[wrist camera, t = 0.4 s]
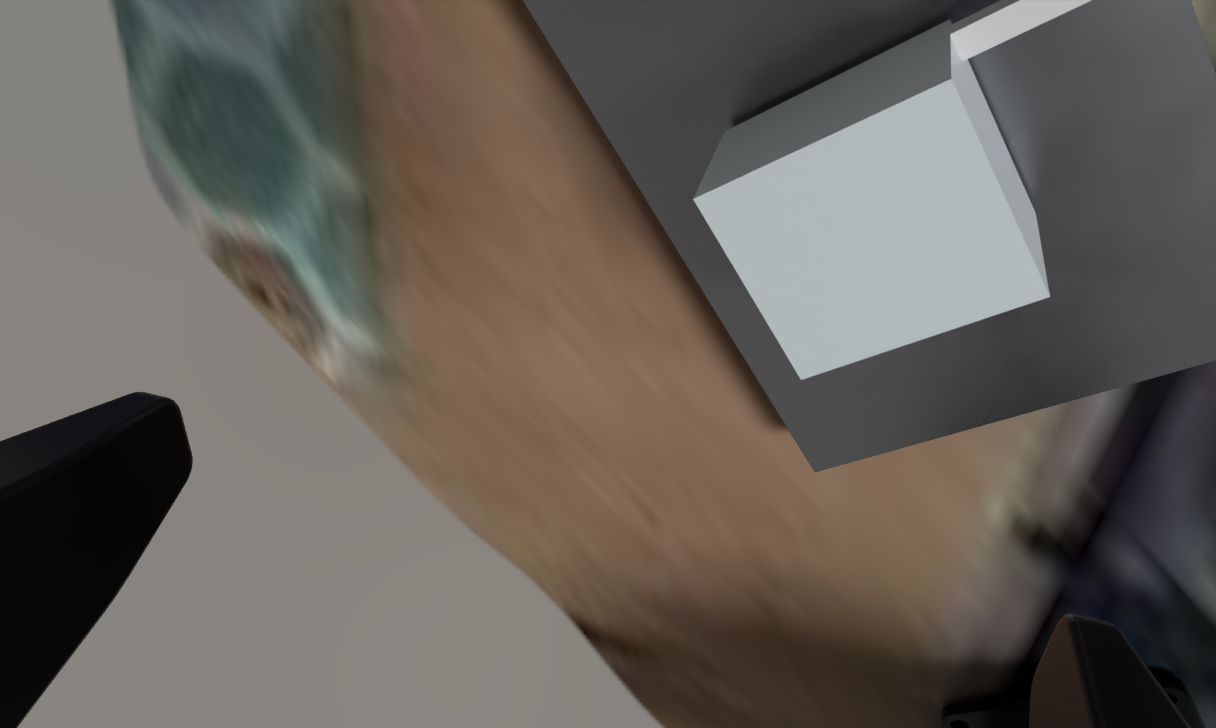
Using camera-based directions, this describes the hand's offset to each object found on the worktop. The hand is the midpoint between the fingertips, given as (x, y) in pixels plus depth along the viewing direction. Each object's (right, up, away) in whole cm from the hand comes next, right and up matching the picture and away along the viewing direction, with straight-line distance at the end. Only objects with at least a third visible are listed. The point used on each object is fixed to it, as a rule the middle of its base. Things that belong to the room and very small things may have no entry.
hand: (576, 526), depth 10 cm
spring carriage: (+7, +6, +8) cm, 12 cm away
